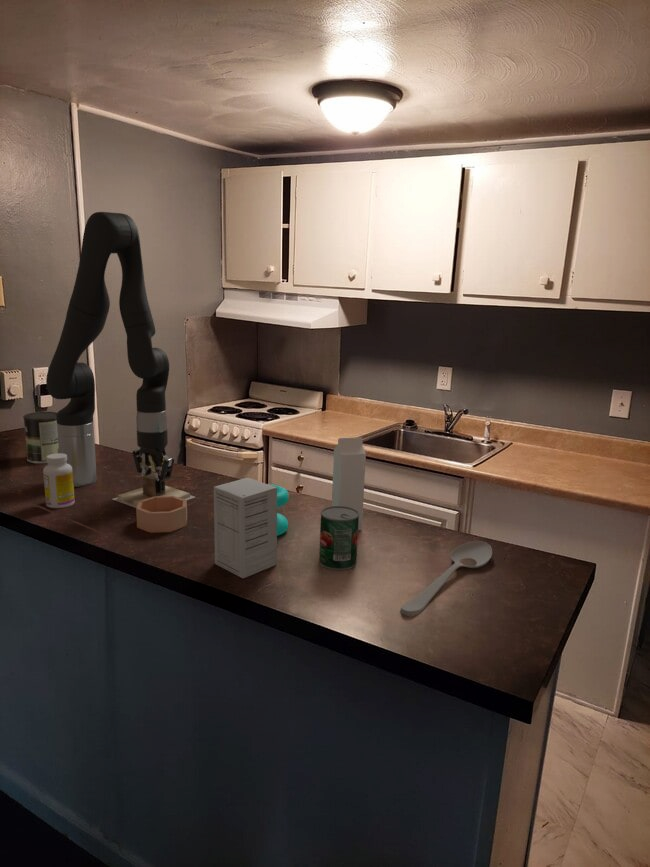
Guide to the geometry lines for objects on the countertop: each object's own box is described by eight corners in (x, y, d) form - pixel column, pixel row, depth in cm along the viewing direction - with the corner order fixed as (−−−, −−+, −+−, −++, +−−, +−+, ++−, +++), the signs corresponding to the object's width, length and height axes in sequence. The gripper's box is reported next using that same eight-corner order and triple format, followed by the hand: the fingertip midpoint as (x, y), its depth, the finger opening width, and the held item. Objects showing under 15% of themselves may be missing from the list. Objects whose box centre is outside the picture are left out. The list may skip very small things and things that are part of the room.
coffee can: (23, 464, 181) (19, 419, 178) (31, 455, 191) (27, 411, 187) (60, 463, 183) (56, 418, 180) (65, 454, 193) (62, 411, 190)
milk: (361, 530, 142) (367, 440, 136) (337, 532, 140) (342, 441, 135) (353, 520, 147) (358, 434, 142) (330, 522, 146) (334, 434, 140)
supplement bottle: (79, 501, 153) (76, 453, 150) (66, 510, 147) (62, 460, 144) (55, 499, 154) (51, 451, 151) (40, 508, 147) (36, 458, 144)
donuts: (238, 486, 139) (277, 480, 144) (238, 526, 141) (276, 519, 146) (256, 500, 131) (296, 493, 136) (256, 542, 133) (295, 534, 138)
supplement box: (278, 565, 123) (279, 487, 119) (243, 580, 116) (243, 498, 112) (248, 550, 129) (248, 476, 125) (213, 563, 122) (212, 485, 118)
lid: (117, 498, 155) (116, 476, 153) (157, 486, 165) (157, 465, 164) (150, 510, 148) (149, 487, 146) (190, 497, 158) (190, 475, 156)
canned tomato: (311, 559, 126) (312, 510, 123) (340, 550, 130) (342, 503, 128) (334, 574, 120) (336, 522, 117) (364, 564, 124) (367, 514, 122)
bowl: (128, 525, 139) (127, 505, 138) (165, 511, 148) (164, 492, 147) (159, 537, 133) (159, 516, 132) (196, 523, 142) (196, 503, 141)
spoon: (466, 546, 135) (466, 536, 135) (500, 556, 131) (500, 545, 130) (384, 615, 108) (385, 603, 108) (424, 630, 104) (424, 617, 103)
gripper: (121, 425, 153) (124, 489, 157) (158, 435, 145) (161, 501, 149) (145, 420, 159) (148, 482, 163) (182, 429, 151) (184, 494, 155)
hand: (154, 491), depth 156 cm, fingers closed on lid, 4 cm apart
